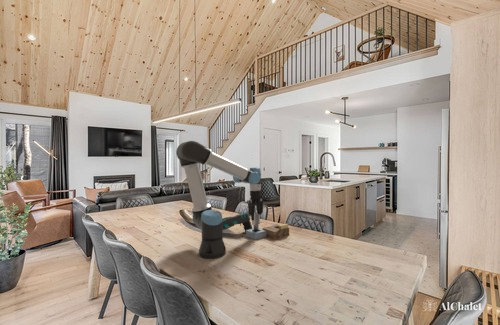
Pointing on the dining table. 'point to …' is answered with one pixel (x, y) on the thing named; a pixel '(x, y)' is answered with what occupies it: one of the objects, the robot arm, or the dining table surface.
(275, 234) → the socket block
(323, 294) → the dining table surface
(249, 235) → the grey square holed block
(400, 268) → the dining table surface
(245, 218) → the gun
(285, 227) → the tan rectangular bar
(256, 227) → the steel round bar
